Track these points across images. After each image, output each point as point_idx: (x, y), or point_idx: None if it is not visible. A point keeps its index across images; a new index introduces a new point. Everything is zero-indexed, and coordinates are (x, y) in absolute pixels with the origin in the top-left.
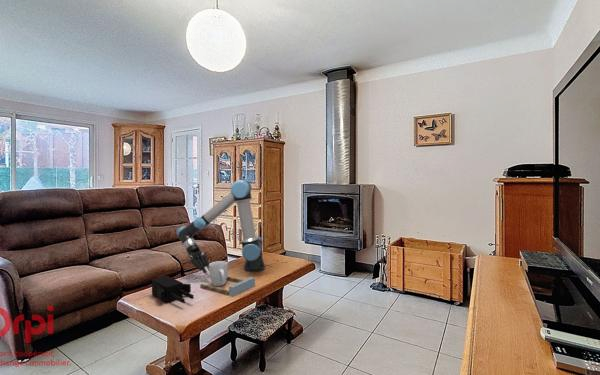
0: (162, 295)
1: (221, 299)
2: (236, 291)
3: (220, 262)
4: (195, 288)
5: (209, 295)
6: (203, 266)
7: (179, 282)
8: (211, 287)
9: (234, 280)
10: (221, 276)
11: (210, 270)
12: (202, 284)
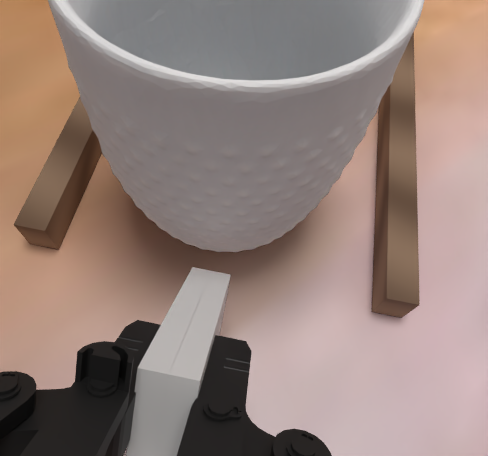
0: None
1: (474, 32)
2: None
3: (72, 5)
4: (439, 367)
5: (478, 129)
6: (214, 400)
7: None
8: (412, 143)
9: None
10: (294, 50)
11: (386, 90)
12: (398, 283)
